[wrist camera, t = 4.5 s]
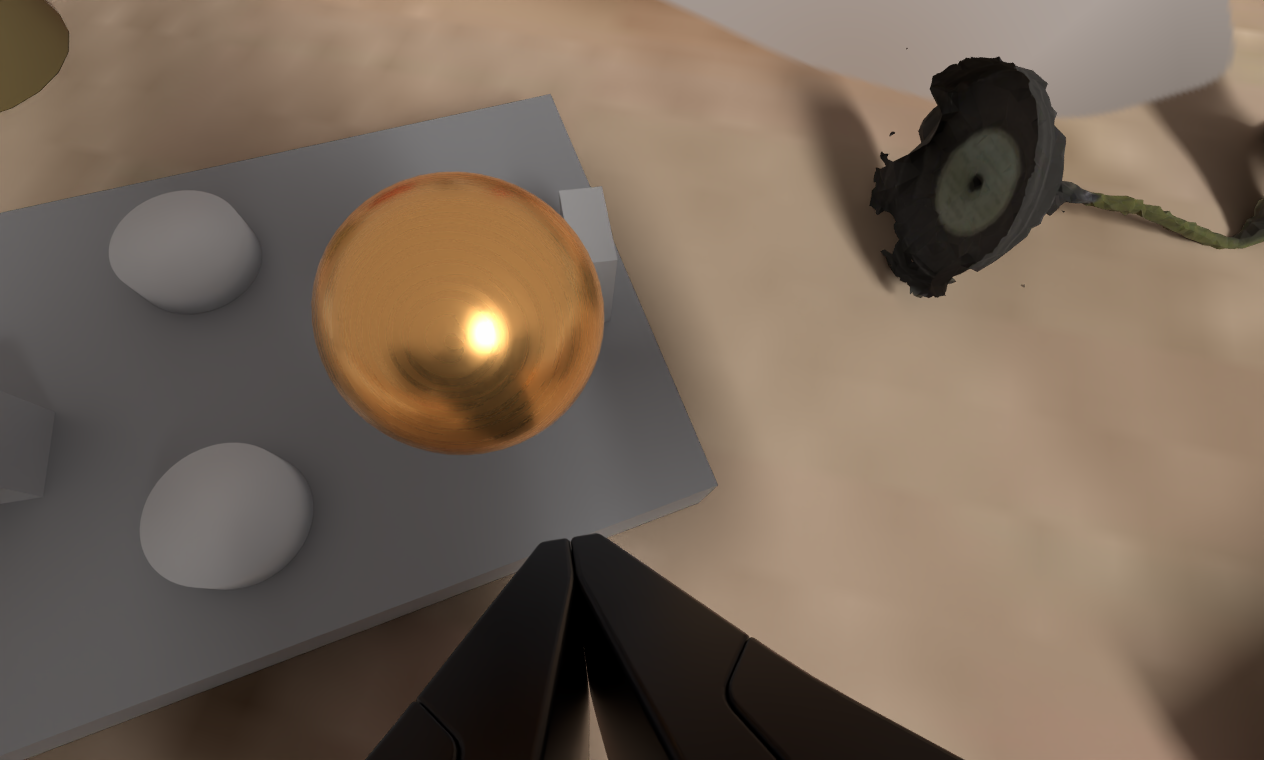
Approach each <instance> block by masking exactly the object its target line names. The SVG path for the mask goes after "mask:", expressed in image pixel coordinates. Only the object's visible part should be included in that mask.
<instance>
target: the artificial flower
mask: <svg viewBox="0 0 1264 760" xmlns="http://www.w3.org/2000/svg"><path fill="white" fill-rule="evenodd" d="M906 49H907V48H906ZM1046 87H1047V82H1045V81H1044V80H1043V79H1042V78H1041V77H1039V76H1038V75H1037V74H1036V73H1035V72H1034V71H1032V70H1028V69H1025V68H1021V67H1018V66H1015V64H1014V63H1006V62H1003V61H1002V60H1001V59H1000V57H997V58H982V57H980V58H973V57H971V58H965V59H964V60H962V61H960V62H959V63H958V65H957V64H953V65H950V66H949V67H947V68H946V69H945V70H944V71H943V72H941V73H938V74H936V75H934V76H933V78H932V83H931V87H930V90H931V93H932V95H933V97H934V99H935V101H936V103H937V105H938V106H937V107H935V108H934V109H933V110H932V111H931V112H930V113H929V114H928V115H927V116H926V118H925V119H924V120H923V122H922V124H921V126H920V129H919V131H918V132H919V135H920V139H921V144H919V145H918V146H917V147H916V148H915V149H914V150H913V151H912V152H911V153H909V154H908V155H906V156H904V157H902V158H900V159H898V160H896V161H893V162H892V161H890V160H888V158H887V156H888V154H884V153H883V152H882V151H881V155H880V157H881V159H882V160H883V162H884V163H885V165H886V166H885V167H883V168H882V169H879V168H876V172H875V175H874V182H876V187H875V188H874V189H873V190H872V197H871V201H870V206H871V207H873V208H874V209H875V210H876V214H877V215H879V214H880V213H882V212H883V211H887V212H889V213H890V214H892V215H893V217H894V219H895V221H896V222H895V224H894V230H895V233H896V234H897V236H898V238H899V241H898V242H897V244H896V245H895V248H894V251H893V254H891V253H889V252H888V251H886V250H882V251H881V252H882V253H883V255H884V256H886V259H887V262H888V265H890V268H891V270H892V271H893V273H894V274H895V275H896V276H897V277H900V281H903V282H907V284H908V285H909V286H910V294H911V293H912V292H913V294H914V296H916V297H919V298H921V297H923V296H924V297H928V298H930V297H932V296H934V297H935V298H936V297H937V298H938V297H939V296H946V295H945V292H946V289H947V285H948V284H951V283H954V282H956V281H955V280H954V279H953V278H952V277H953V276H956V275H959V274H961V273H963V272H965V271H966V270H968V269H972V270H974V271H977V272H978V271H980V270H981V269H983V268H985V267H986V266H988V265H990V264H991V263H993V262H995V261H996V260H998V259H999V258H1000V257H1001V256H1003V255H1004V254H1005V253H1007V252H1008V251H1009V250H1011V249H1012V248H1013V247H1014V246H1016V245H1017V244H1018V243H1019V242H1021V241H1022V240H1023V239H1024V238H1026V237H1027V235H1028V234H1029V232H1030V230H1031V229H1032V228H1033V227H1035V226H1037V225H1039V224H1041V221H1042V219H1043V217H1044V215H1045V214H1048V215H1049V216H1050V215H1052V214H1053V213H1054V212H1055V211H1056V210H1057V209H1058V208H1059V206H1060V205H1062V204H1063V203H1064V202H1069V203H1083V204H1084V205H1086V206H1094V207H1098V208H1102V209H1105V210H1110V211H1118V212H1121V213H1122V214H1124V215H1127V214H1129V213H1132V214H1137V215H1139V216H1141V217H1143V218H1145V219H1147V220H1149V221H1152V222H1155V223H1157V224H1160V225H1162V226H1163V227H1164V228H1166V229H1169V230H1171V231H1174V232H1176V233H1179V234H1181V235H1182V236H1184V237H1186V238H1189V239H1192V240H1194V241H1197V242H1199V243H1201V244H1202V245H1207V246H1211V247H1214V248H1216V249H1223V248H1228V249H1235V248H1245V247H1248V246H1251V245H1254V244H1258V243H1261V242H1264V198H1263V199H1261V200H1259V201H1258V203H1257V205H1256V207H1255V209H1254V217H1251V218H1249V219H1247V221H1246V222H1245V224H1244V226H1243V228H1242V230H1241V232H1240V233H1238V234H1236V235H1235V236H1233V237H1226V236H1223V235H1221V234H1218V233H1214V232H1211V231H1210V230H1209V229H1206V228H1203V227H1200V226H1197V224H1196V223H1194V222H1187V221H1185V220H1183V219H1180V218H1177V217H1175V216H1173V215H1172V214H1171V213H1170V211H1163V210H1162V209H1161V207H1160V206H1152V205H1146V204H1143V200H1136V199H1134V198H1131V197H1128V196H1109V195H1104V194H1101V193H1092V192H1088V191H1086V190H1083V189H1082V188H1080V187H1079V186H1078V185H1076V184H1074V183H1072V182H1066V181H1062V177H1063V170H1064V152H1065V145H1066V137H1065V136H1064V135H1063V134H1062V133H1061V132H1060V131H1059V130H1058V129H1057V128H1056V127H1055V126H1054V120H1055V117H1056V115H1057V112H1056V111H1055V110H1054V109H1053V108H1052V107H1051V103H1050V99H1049V96H1048V94H1047V92H1046V90H1045V89H1046ZM893 134H895V132H891V133H890V136H891V135H893ZM1063 212H1065V211H1063ZM911 259H912V260H913V261H914V262H912V261H911ZM1021 286H1023V287H1024V286H1025V285H1021Z"/></svg>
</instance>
